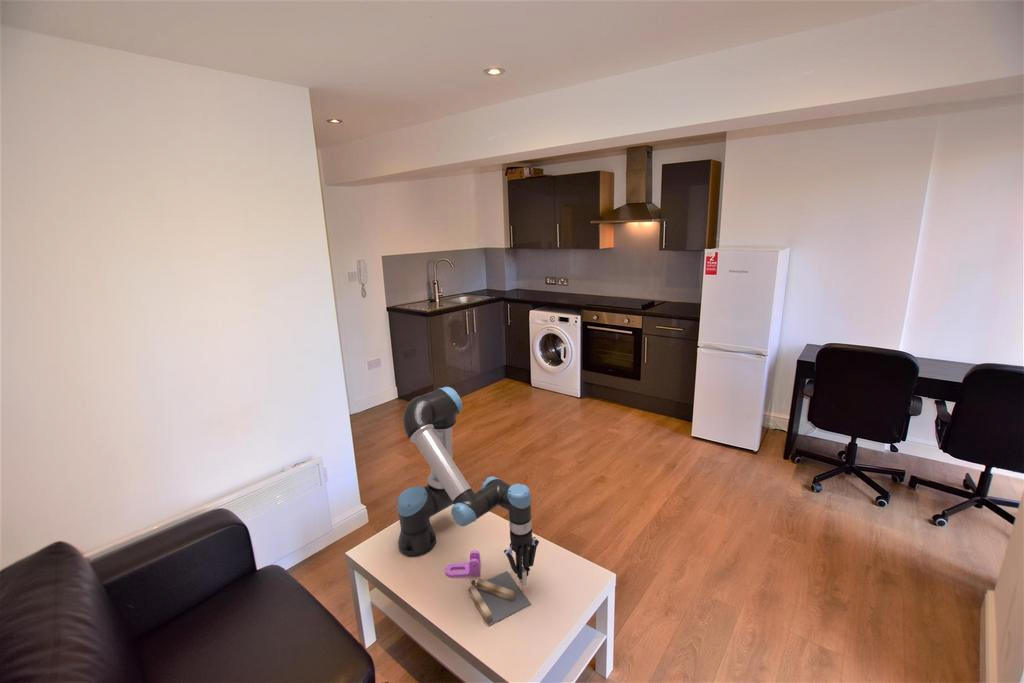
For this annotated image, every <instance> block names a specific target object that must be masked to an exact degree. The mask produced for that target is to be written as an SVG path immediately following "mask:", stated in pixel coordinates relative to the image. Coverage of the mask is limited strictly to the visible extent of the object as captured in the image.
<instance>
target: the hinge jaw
mask: <svg viewBox="0 0 1024 683" xmlns="http://www.w3.org/2000/svg"><path fill="white" fill-rule="evenodd" d="M476 585H477V588H478V589H480V590H483V591H486V592H488V593H491V594H494V595H496V596H499V597H502V598H504V599H507V600H510V601H513V600H514V598H515V591H512V590H510V589H507V588H504V587H501V586H499V585H496V584H493V583H490V582H487V581H486V580H485V579H481V578H478V580H477V581H476Z"/></svg>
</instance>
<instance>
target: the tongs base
mask: <svg viewBox="0 0 1024 683" xmlns="http://www.w3.org/2000/svg"><path fill="white" fill-rule="evenodd" d="M476 585H477V581H476V580H475V579H472V580H471V585H470V586H468V589H469V591H468V592H469V594H470V596H471V599H472V600H473V602H474V603H475V605H476V607H477V608H478V611H479V612H480V613H481V615H482V617H483V619H484V621H485V622H486V623H488V622H490V621H492V613H491V612H490V610H489V608H488V607H487V605H486V604H485V602H484V600H483V599H482V597H481V595H480V594H479V592H478V590H477V589H476Z"/></svg>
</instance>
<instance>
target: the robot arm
mask: <svg viewBox="0 0 1024 683" xmlns="http://www.w3.org/2000/svg"><path fill="white" fill-rule="evenodd" d="M463 408H464V407H463V402H462V399H461V397H460V395H459V394H458V392H457V391H456V390H455V389H454V388H453V387H450V386H444V387H439V388H437V389H436V390H432V391H430V392H427V393H424V394H422V395H418V396H416V397H414V398H412V399H411V400H410V401H409V402H408V403H407V405H406V406H405V409H404V411H403V416H402V422H403V423H402V424H403V429H404V432H405V435H406V437H407V438H408V440H409V442H410V443H414V444H415V445H416V447H417V449H418V450H419V451H420V453H421V455H422V456H423V458H424V459H425V461H426V463H427V464H428V465H429V468H430V474H429V475H428V476H427V482H426V483H427V485H425V486H421V485H416V486H415V487H414V486H411V487H408V488H406V489H405V490H404V491H402V492H401V493H400V495H399V497H398V499H397V513H398V517H399V519H398V520H399V525H400V532H399V536H398V540H397V543H398V545H397V546H398V550H399V553H400V554H402V555H404V556H406V557H409V558H416V557H421V556H425V555H426V554H429V553H430V552H431V551H432V550H433V549H434V548H435V546H436V544H437V535H436V532H435V530H434V528H433V526H432V524H431V520H430V519H431V517H433V516H435V515H436V514H438V513H440V512H442V511H444V510H446V509H448V508H449V507H451V506H452V507H451V510H450V511H451V516H452V518H453V521H454V522H455V523H456V525H458V526H460V527H466V526H469V524H472V523H474V522H476V521H477V519H479V518H481V517H483V516H484V515H486V514H487V513H489V512H491V511H492V510H493V509H495V508H497V507H501V508H503V509H504V510H507V511H508V520H509V522H508V524H509V526H508V527H509V539H510V543H509V548H507V549H504V551H503V553H504V555H505V556H506V557H507V559H508V564H509V565H510V568H511V570H512V571H513V572H514V574H515V575H517V576H516V577H517V579H519V584H520V586H521V587H522V588H527V587H528V576H529V574H530V573H529V572H530V570H531V568H530V567H533V566H534V564H535V563H534V562H535V557H536V551H537V547H538V545H539V544H540V543H539V542H540V541H539V540H538V539H537V538H536V536H533V526H532V497H531V496H532V495H531V490H530V488H529V486H528V485H526V484H521V483H514V484H512V485H511V484H509V483H507V482H505V481H504V480H502V479H501V478H498V477H496V476H488V477H487V478H486V479H485V481H483V482H482V483H481V489H479V490H478V491H476V492H474V490H473V489H472V487H471V485H470V484H469V483H468V481H467V480H466V478H465V476H464V474H462V472H461V470H460V469H459V467H458V466H457V465H456V463H455V461H454V460H453V427H455V425H456V424H457V415H460V413H462V412H463ZM513 552H514V554H515V559H514V556H513Z"/></svg>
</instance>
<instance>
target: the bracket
mask: <svg viewBox="0 0 1024 683" xmlns="http://www.w3.org/2000/svg"><path fill="white" fill-rule="evenodd" d="M481 563H482V562H481V554H480V551H479V550H476V549H473V550H471V551H470V553H469V562H454V563H453V562H452V563H450V564H448V565H447V566H446V567H445V572H444V573H445V575H446V576H447V577H448V578H450V579H452V578H453V579H454V578H469V577H481V565H482V564H481Z"/></svg>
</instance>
